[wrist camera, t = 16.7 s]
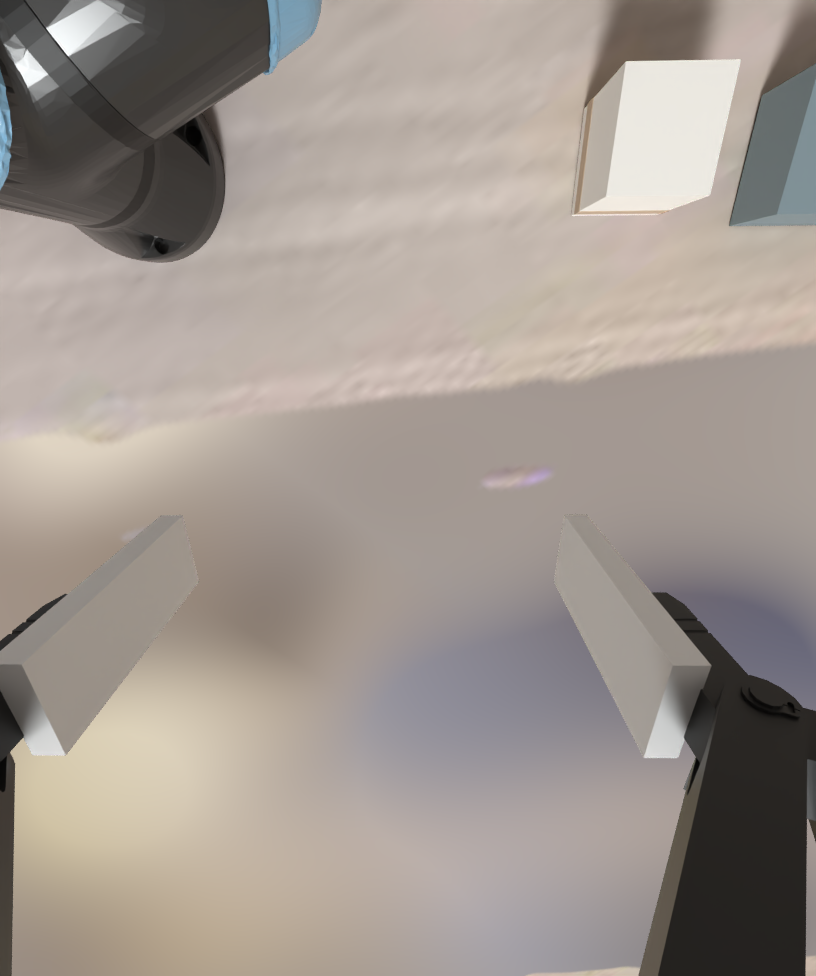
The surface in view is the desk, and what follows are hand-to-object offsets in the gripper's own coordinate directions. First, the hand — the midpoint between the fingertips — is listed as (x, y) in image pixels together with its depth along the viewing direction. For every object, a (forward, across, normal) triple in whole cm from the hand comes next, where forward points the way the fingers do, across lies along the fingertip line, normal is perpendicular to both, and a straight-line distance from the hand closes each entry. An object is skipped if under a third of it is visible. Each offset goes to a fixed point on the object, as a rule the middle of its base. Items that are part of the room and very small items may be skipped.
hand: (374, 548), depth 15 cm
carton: (+35, +20, +19) cm, 45 cm away
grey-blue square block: (+35, +36, +19) cm, 54 cm away
